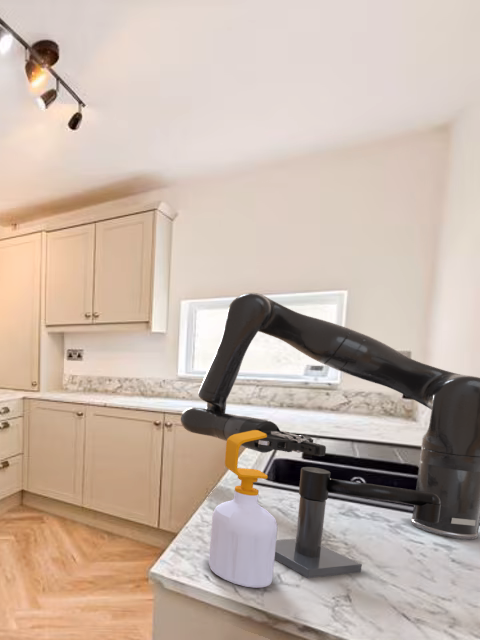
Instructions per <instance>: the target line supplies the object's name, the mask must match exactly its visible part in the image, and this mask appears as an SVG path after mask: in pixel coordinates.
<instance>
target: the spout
mask: <svg viewBox="0 0 480 640" xmlns="http://www.w3.org/2000/svg"><path fill="white" fill-rule="evenodd" d="M299 477H300V478H299V479H300V480H299V488H298V495H299V496H300V495H301V496H303V497H306V498H309V499H314V500H326V501H327V500H328V499H329V493H331V494H337V495H344V496H351V497H356V498H357V497H358V498H365V499H370V500H376V501H377V500H378V501H384V502H391V503H395V504H396V503H397V504H402V505H403V504H405V505H410V506H414V505H416V512H415V518H417V519H419V520H422V521H426V522H431V523H438V522H439V515H440V508H441V504H440V498H439V497H438V496H437V495H436V494H434V493H430V492H424V491H416V489H410V488H409V489H408V488H401V487H395V486H386V485H381V484H373V483H365V482H357V481H349V480H344V479H343V480H342V479H336V478H331V472H330V471H329V470H327V469H324V468H319V467H313V466H303V467H301V468H300V476H299Z"/></svg>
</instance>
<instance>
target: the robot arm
mask: <svg viewBox="0 0 480 640" xmlns="http://www.w3.org/2000/svg"><path fill="white" fill-rule="evenodd" d="M258 333H262V334H265V335H268V336H271V337H273V338H276V339H279V340H280V341H282V342H284V343H286V344H287V345H289V346H291V347H292V348H293V349H295V350H297V351H299V353H300V352H301V354H303V355H305V356H307V357H308V358H311V359H313V360H314V361H316V362H319V363H320V364H323V365H325V366H327V367H329V368H332V369H334V370H336V371H339V372H341V373H343V374H347V375H349V376H351V377H355V378H357V379H361V380H364V381H367V382H370V383H374V384H377V385H380V386H383V387H387V388H388V389H391V390H393V391H395V392H398V393H399V394H402V395H404V396H405V397H407V398H410V399H412V400H414V401H415V402H417V403H419V404H421V405H423V406H425V407H426V408H428V409H429V410H430V418H429V424H428V428H427V430H426V432H425V433H424V434H423V435H422V439H421V446H420V455H419V462H418V470H417V479H416V486H415V487H416V488H415V490H416V491H424V492H430V493H434V494H436V495H437V496H438V497H439V498H440V504H441V508H440V515H439V522H438V523H431V522H426V521H422V520H419V519H417V518H415V512H416V505H413V508H412V516H411V519H410V523H411V524H412V525H413V526H415V527H416V528H418V529H420V530H423V531H425V532H429V533H431V534H434V535H435V534H436V535H437V536H443V537H447V538H452V539H459V540H475V539H477V538H478V535H479V531H480V377H479V376H473V375H466V374H461V373H456V372H452V371H449V370H445V369H443V368H442V369H441V368H439V367H435V366H432V365H429V364H426V363H424V362H421V361H417V360H416V359H413V358H411V357H408V356H407V355H405V354H403V353H401V352H400V351H398V350H397V349H395V348H393V347H391V346H389V345H387V344H386V343H383V342H382V341H380V340H378V339H375V338H374V337H371V336H369V335H367V334H364V333H361V332H359V331H356V330H354V329H352V328H348V327H345V326H342V325H339V324H336V323H334V322H330V321H327V320H323V319H320V318H317V317H313V316H310V315H306V314H303V313H299V312H297V311H295V310H293V309H291V308H289V307H286V306H284V305H282V304H280V303H278V302H276V301H274V300H272V299H270V298H269V297H268V296H266V295H264V294H261V293H258V292H248V293H243V294H241V295H239V296H237V297H235V298H234V299H233V300H232V301H231V302H230V304H229V305H228V308H227V315H226V319H225V324H224V328H223V332H222V336H221V338H220V342H219V344H218V347H217V349H216V352H215V354H214V356H213V358H212V361H211V362H210V365H209V367H208V369H207V371H206V374H205V375H204V378H203V381H202V383H201V386H200V388H199V391H198V397H199V399H200V400H201V401H203V402H205V403H206V407H205V408H203V407H193V406H192V407H189V408H186V409H185V410H184V411H182V413H181V416H180V424H181V425H182V427H183V428H184V430H186V431H188V433H189V432H190V433H193V434H197V435H202V436H208V437H213V438H217V439H219V440H222V441H225V442H227V439H228V438H229V437H230V436H232V435H234V434H238V433H243V432H248V431H252V430H258V431H261V432H263V433H265V434H267V437H266V438H262V439H257V440H253V441H249V442H245V443H243V444H241V446H240V447H242V448H245V449H248V450H252V451H256V452H259V453H264V454H265V453H270V452H273V451H279V452H285V453H292V452H295V453H298V454H300V453H304V454H308V455H312V456H315V457H325V456H326V454H327V453H326V452H327V446H326V445H324V444H320V443H317V442H314V439H313V438H311V436H309V435H307V434H305V433H304V434H300V435H297V434H294V433H291V432H289V431H286V430H280V428H279V426H278V424H276V423H275V422H273V421H271V420H265V419H261V418H256V417H252V416H246V415H236V414H233V413H226V409H227V401H228V398H229V396H230V394H231V393H232V390H233V388H234V386H235V383H236V381H237V378H238V376H239V372H240V369H241V366H242V363H243V361H244V358H245V355H246V353H247V351H248V349H249V348H250V347H249V346H250V345H251V343H252V341H253V340H254V339H255V337H256V336H257V334H258Z"/></svg>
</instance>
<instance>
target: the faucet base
mask: <svg viewBox="0 0 480 640" xmlns="http://www.w3.org/2000/svg"><path fill="white" fill-rule="evenodd" d="M326 505H327V500H314V499H309V498H306V497H303V496H301V495H300V494H299V501H298V513H297V522H296V523H297V524H296V532H295V538H287V539H276V548H275V558H274V561H275V560H276V561H277V562H279V563H281V564H282V565H284V566H286V567H288V568H289V569H291V570H293V571H295V572H296V573H299V574H300V575H302V576H304V577H305V578H307V579H311V578H312V579H313V578H322V577H330V576H331V577H332V576H340V575H351V574H358V573H362V563H360V562H358V561H355V560H353V559H351V558H349V557H347V556H345V555H343V554H341V553H339V552H337V551H335V550H332V549H331V548H328V547H326V546H324V545H322V543H323V541H322V540H323V533H324V532H323V531H324V522H325V514H326Z"/></svg>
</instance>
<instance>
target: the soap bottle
mask: <svg viewBox="0 0 480 640" xmlns="http://www.w3.org/2000/svg"><path fill="white" fill-rule="evenodd" d="M266 437H267V434H265V433H263V432H261V431H258V430H252V431H248V432H243V433H238V434H234V435H232V436H230V437H229V438H228V439H227V441H226V444H225V455H224V456H225V458H224V466H225V467H226V469H228V470H229V471H230V472H232V473H233V474H235V475H236V476H237V479H238V480H240V485H235V486H234V492H233V498H232V499H231V500H227V501H223V502H221V503H219V504H218V505H217V506H215V508H214V510H213V512H212V518H211V527H210V528H211V530H210V541H209V555H208V565H209V568H210V570H211V571H212V572H213V574H215V575H216V576H218V577H220V578H221V579H222V580H224V581H227V582H229V583H231V584H234V585H238V586H242V587H245V588H254V589H258V588H267V587H268V586H270V585H271V584H272V583H273V580H274V579H273V578H274V568H275V559H274V558H275V548H276V540H277V535H278V527H279V526H278V523H277V520H276V518H275V516H274V515H272V513H270V512H269V511H268V510H267V509H266V508H264V507H262V506H261V505H260V504H259V490H258V489H257V488H255V487H254V483H257V482H258V479H262V480H263V479H264V480H266V479H268V477H269V475H268V474H266V473H264V472H263V471H261V470H259V469H255V468H246V467H245V468H244V467H243V468H242V467H238V465H239V464H238V463H239V452H240V448H241V447H242V446H241V444H243V443H245V442H249V441H253V440H257V439H262V438H266Z"/></svg>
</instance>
